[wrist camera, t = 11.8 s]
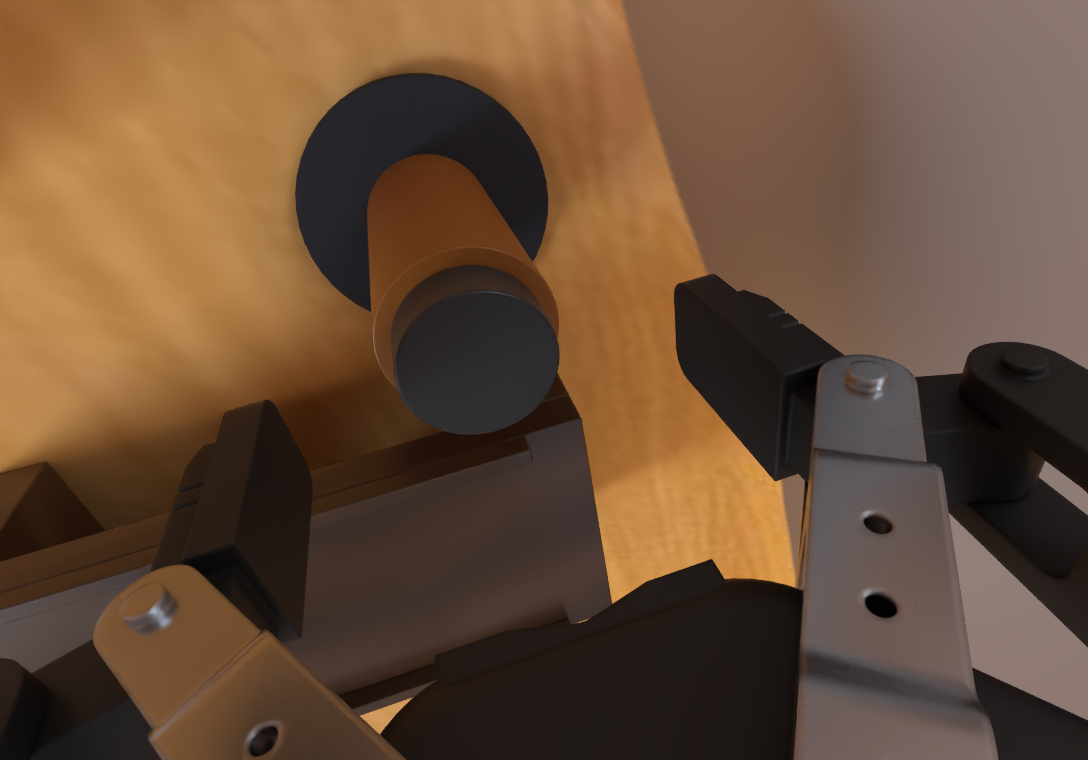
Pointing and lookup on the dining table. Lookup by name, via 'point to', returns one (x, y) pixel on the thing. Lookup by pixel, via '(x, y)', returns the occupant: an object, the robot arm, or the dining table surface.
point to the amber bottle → (456, 300)
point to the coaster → (394, 134)
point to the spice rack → (354, 554)
